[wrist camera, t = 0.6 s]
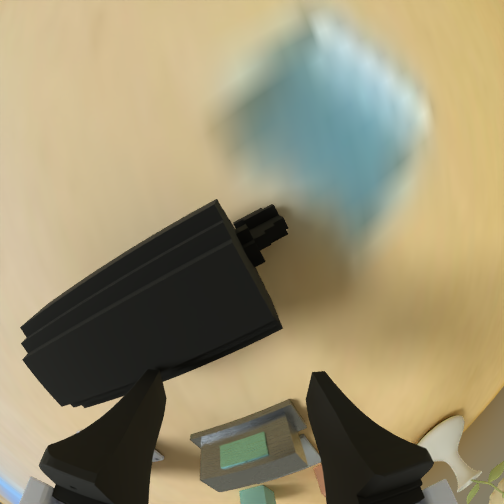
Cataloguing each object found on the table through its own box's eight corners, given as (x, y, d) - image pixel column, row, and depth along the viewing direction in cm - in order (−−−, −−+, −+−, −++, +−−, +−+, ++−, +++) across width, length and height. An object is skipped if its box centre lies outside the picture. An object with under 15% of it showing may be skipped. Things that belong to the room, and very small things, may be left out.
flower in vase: (418, 458, 35) (469, 540, 11) (399, 448, 32) (460, 551, 8) (468, 413, 33) (532, 487, 9) (459, 395, 31) (539, 486, 6)
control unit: (214, 454, 27) (214, 495, 21) (190, 434, 26) (187, 479, 20) (305, 422, 27) (320, 464, 21) (289, 399, 26) (303, 445, 19)
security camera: (296, 256, 22) (348, 312, 12) (112, 348, 22) (71, 424, 13) (255, 175, 20) (285, 170, 10) (68, 286, 21) (3, 342, 11)
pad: (257, 481, 30) (257, 484, 29) (229, 459, 28) (229, 463, 27) (322, 458, 29) (323, 461, 29) (303, 433, 27) (304, 437, 27)
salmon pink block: (320, 475, 31) (329, 499, 26) (313, 467, 30) (321, 493, 25) (344, 465, 31) (354, 489, 26) (338, 456, 30) (349, 482, 25)
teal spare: (251, 497, 32) (254, 521, 27) (239, 490, 30) (241, 515, 26) (273, 492, 31) (278, 515, 27) (263, 484, 30) (267, 510, 26)
